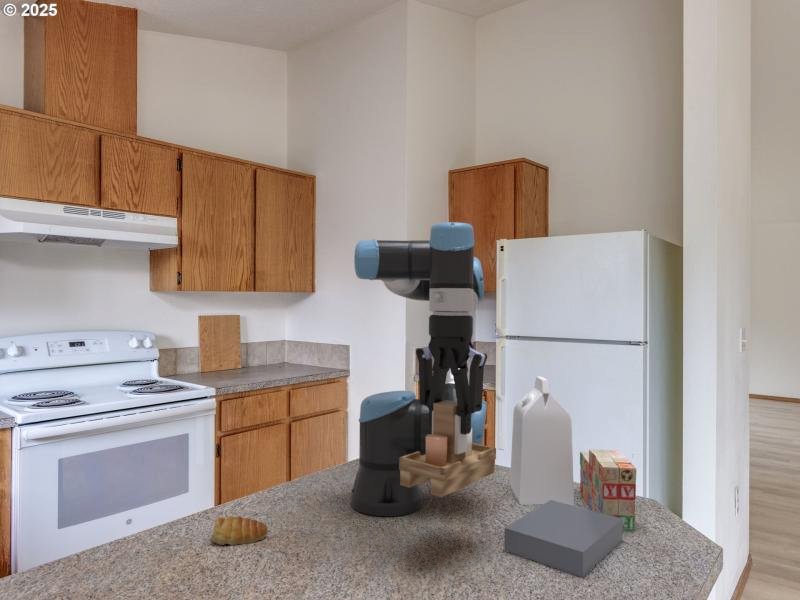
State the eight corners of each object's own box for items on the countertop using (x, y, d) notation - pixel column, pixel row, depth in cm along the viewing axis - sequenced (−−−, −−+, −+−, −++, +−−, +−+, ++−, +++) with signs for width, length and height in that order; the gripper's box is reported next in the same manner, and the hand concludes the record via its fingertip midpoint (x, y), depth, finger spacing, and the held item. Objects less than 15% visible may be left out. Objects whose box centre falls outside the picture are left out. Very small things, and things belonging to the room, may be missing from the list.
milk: (574, 505, 120) (576, 382, 120) (519, 504, 120) (521, 382, 120) (559, 486, 132) (560, 374, 132) (509, 485, 132) (511, 374, 132)
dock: (504, 550, 98) (504, 527, 98) (550, 520, 112) (550, 499, 112) (582, 577, 89) (583, 552, 89) (622, 540, 103) (622, 518, 103)
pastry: (268, 530, 106) (268, 509, 106) (265, 546, 99) (265, 524, 99) (216, 532, 105) (217, 511, 104) (209, 548, 98) (210, 526, 98)
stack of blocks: (579, 491, 129) (580, 437, 128) (607, 493, 128) (608, 438, 128) (601, 530, 107) (602, 465, 107) (635, 532, 107) (636, 467, 107)
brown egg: (421, 463, 94) (421, 436, 94) (436, 458, 97) (436, 432, 96) (436, 468, 92) (436, 440, 91) (451, 463, 94) (451, 437, 94)
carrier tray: (442, 497, 88) (443, 414, 88) (398, 484, 94) (399, 406, 94) (495, 473, 100) (496, 400, 100) (453, 462, 106) (454, 393, 106)
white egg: (447, 453, 100) (447, 428, 100) (458, 449, 102) (459, 425, 102) (464, 457, 97) (465, 432, 97) (475, 453, 100) (476, 428, 100)
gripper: (398, 312, 99) (397, 445, 100) (482, 316, 88) (479, 465, 89) (424, 311, 105) (423, 436, 105) (506, 315, 94) (504, 454, 94)
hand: (449, 449), depth 97 cm, fingers closed on carrier tray, 4 cm apart
